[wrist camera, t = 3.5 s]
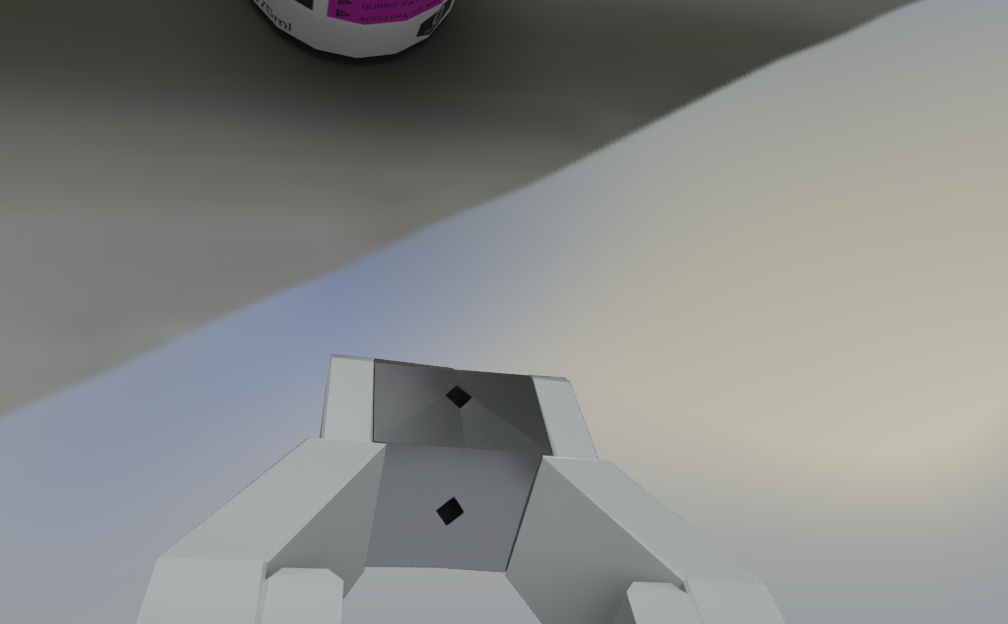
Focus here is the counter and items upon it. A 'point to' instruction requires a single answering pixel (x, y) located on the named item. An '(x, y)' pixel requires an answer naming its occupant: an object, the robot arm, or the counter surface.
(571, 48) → the counter surface
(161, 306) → the counter surface
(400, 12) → the supplement can
